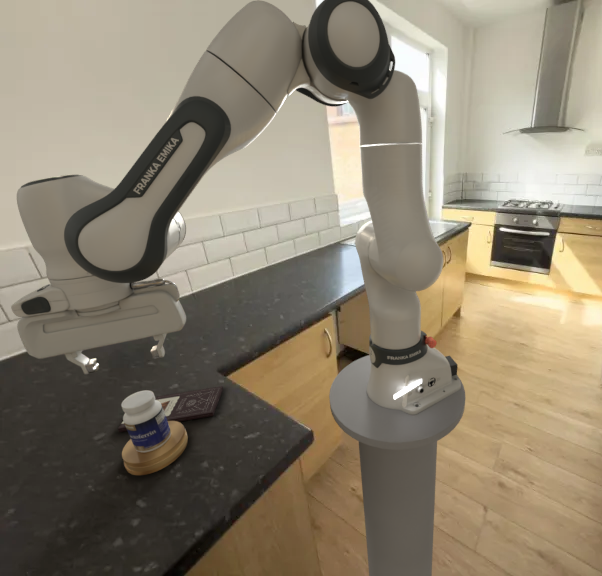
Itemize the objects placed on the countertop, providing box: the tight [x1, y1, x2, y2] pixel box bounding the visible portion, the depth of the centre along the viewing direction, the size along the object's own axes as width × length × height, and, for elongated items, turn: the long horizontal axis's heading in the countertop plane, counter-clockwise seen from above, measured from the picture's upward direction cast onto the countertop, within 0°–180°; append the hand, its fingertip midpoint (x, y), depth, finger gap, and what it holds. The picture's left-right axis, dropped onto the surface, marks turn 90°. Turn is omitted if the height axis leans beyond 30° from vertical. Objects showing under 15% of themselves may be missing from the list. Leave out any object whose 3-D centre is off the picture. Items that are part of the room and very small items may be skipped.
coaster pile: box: [121, 421, 189, 476], centre depth 60 cm, size 10×10×3 cm
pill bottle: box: [120, 389, 171, 453], centre depth 58 cm, size 6×6×10 cm
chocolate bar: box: [117, 385, 224, 433], centre depth 71 cm, size 9×1×18 cm
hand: (127, 363), depth 54 cm, fingers open, 8 cm apart
